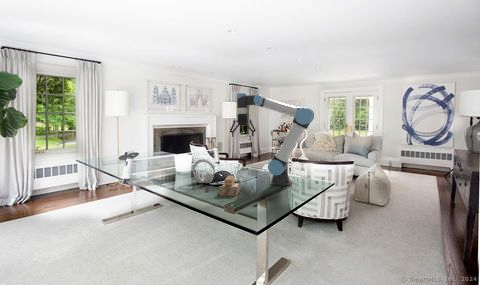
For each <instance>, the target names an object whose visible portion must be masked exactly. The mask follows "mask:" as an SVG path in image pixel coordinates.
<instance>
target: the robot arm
mask: <svg viewBox="0 0 480 285" xmlns="http://www.w3.org/2000/svg"><path fill="white" fill-rule="evenodd" d="M248 106H256V107H260V108H264V109H268V110H270V111H274V112H277V113H280V114H284V115H286V116H289V117H293V119H292V121H291V122H292V126H291V127H290V130H289V131H288V133H287V135H286V137H285V138H284V141H283V142H282V144H281V146H280V148H279V150H278V152H276V153H275V154H273V156H272V158H271V160H270V161H268V164H267V169H268V172H269V174H271V175H272V176H271V180H270V184H271V186H272V185H273V186H276V187H288V186H289V185H291V181H290V177H289V162H290V161H289V158H290V156H291V154H292V152H293V150H294V148H295V147H296V145H297V143H298V142H299V139H300V138H301V135H302V134H303V132H304V131H305V130H308V128H309V126H310V124H311V123H312V121H314V118H315V113H314V111H313V109H311V108H310V107H307V106H304V107H301V106H297V107H296V106H294V105H290V104H286V103H284V102H279V101H276V100H273V99H270V98H266V97H263V96H262V95H261V94H253V95H252V94H251V95H250V94H249V95H247V92H238V93H237V94H236V107H237V108H236V111H237V116H236V117H237V119H236V120H235V119H233V123H232V125H231V127H230V129H229V133H231V137H232V138H233V142H236V133H235V132H236V130H237V129H238V128H239V127H240V126H241V127H243V126H246V127H247V128H248V129H249V130H250V131H251V132H250V139H251V140H250V141H251V142H252V141H253V137H255V135H254V133H255V132H256V131H257V130H256V128H255V126H254V125H253V122H252V119H248ZM248 123H250V125H251V127H250V126H249V125H248Z"/></svg>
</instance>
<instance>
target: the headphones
mask: <svg viewBox="0 0 480 285" xmlns="http://www.w3.org/2000/svg"><path fill="white" fill-rule="evenodd" d="M199 163H206V164H208V165H209V166H210V167H211V169H212V170H213V172H212V171H207V172H206V174H205V176H204V174H203V172H201V171H200V170H198V171H196V172H195V169H196V167H197V165H199ZM192 173H193V176H194V180H195V182H196V183H198V184H202V183H204V184H209V183H212V181H213V179H214V176H215V173H216V169H215V165H214V164H213V162H212V161H210V160H209V159H205V158H202V159H198V160H197V161H196V162H194V164H193V166H192Z"/></svg>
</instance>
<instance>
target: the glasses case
mask: <svg viewBox="0 0 480 285" xmlns="http://www.w3.org/2000/svg"><path fill="white" fill-rule="evenodd" d="M224 180H225V181H224V182H223V184H225V186H230V187H233V186H234V184H235V180H236V175H227V176H226V177H225V179H224Z"/></svg>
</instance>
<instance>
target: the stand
mask: <svg viewBox="0 0 480 285" xmlns="http://www.w3.org/2000/svg"><path fill="white" fill-rule="evenodd" d="M223 181H224V182H225V179H224V180H223ZM240 191H241V180H239V179H238V180H237V179H235V184H234V186H233V187H230V186H225V184H224V183H223V184H222V185H220V186H219V187H218V193H219V194H218V196H228V197H229V196H233V197H234V196H237V195H238V194H239V192H240Z"/></svg>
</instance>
